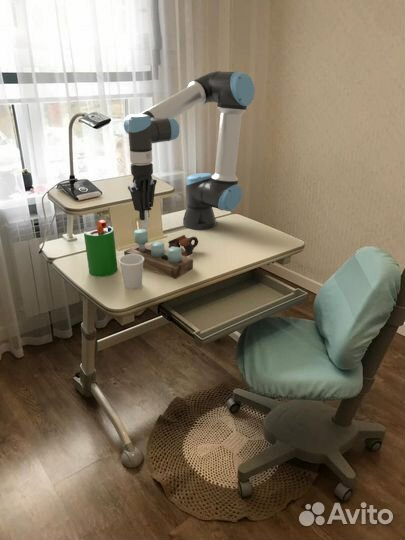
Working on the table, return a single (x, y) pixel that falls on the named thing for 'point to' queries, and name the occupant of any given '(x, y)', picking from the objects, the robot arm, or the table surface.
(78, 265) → the table surface
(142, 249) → the knob
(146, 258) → the mount
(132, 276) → the dixie cup
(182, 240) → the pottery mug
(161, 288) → the table surface
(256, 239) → the table surface
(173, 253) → the knob
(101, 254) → the green pen holder
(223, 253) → the table surface
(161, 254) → the knob
